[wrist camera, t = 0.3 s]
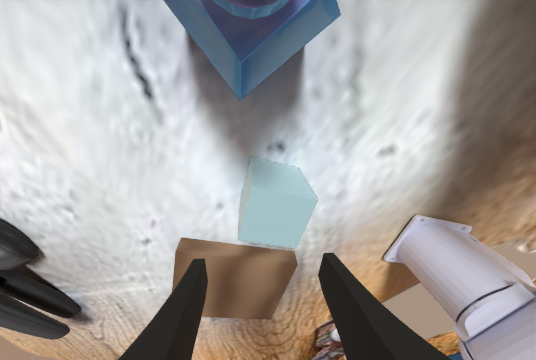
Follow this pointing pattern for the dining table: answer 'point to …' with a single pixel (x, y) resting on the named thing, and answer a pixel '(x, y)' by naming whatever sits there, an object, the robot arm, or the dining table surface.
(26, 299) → the can opener
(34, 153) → the dining table surface
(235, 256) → the walnut block
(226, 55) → the perfume bottle
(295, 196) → the blue block
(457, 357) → the protein box
